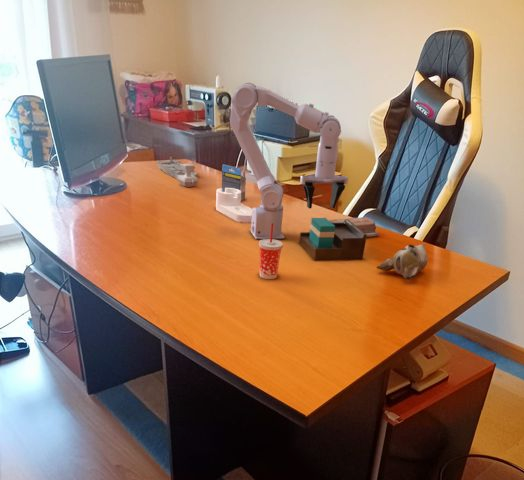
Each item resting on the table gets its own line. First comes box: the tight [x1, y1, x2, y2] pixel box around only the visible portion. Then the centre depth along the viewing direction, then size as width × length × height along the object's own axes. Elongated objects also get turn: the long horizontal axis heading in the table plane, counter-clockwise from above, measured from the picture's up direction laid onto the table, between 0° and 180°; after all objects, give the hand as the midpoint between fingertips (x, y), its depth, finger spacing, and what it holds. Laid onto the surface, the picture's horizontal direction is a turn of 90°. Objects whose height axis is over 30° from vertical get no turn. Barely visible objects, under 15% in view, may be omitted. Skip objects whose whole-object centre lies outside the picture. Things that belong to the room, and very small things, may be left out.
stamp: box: [176, 163, 200, 188], centre depth 210 cm, size 9×7×8 cm
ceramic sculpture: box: [376, 243, 429, 280], centre depth 143 cm, size 11×9×15 cm
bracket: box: [215, 187, 253, 223], centre depth 181 cm, size 20×9×7 cm, turn 33°
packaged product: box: [328, 216, 380, 238], centre depth 171 cm, size 18×5×10 cm
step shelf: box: [298, 218, 368, 261], centre depth 155 cm, size 15×15×8 cm
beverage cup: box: [258, 223, 284, 280], centre depth 133 cm, size 6×6×14 cm
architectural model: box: [156, 156, 199, 179], centre depth 229 cm, size 12×25×5 cm, turn 35°
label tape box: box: [221, 164, 247, 202], centre depth 197 cm, size 9×4×12 cm, turn 58°
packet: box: [309, 217, 335, 248], centre depth 153 cm, size 5×8×6 cm, turn 15°
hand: (320, 207), depth 160 cm, fingers open, 7 cm apart
